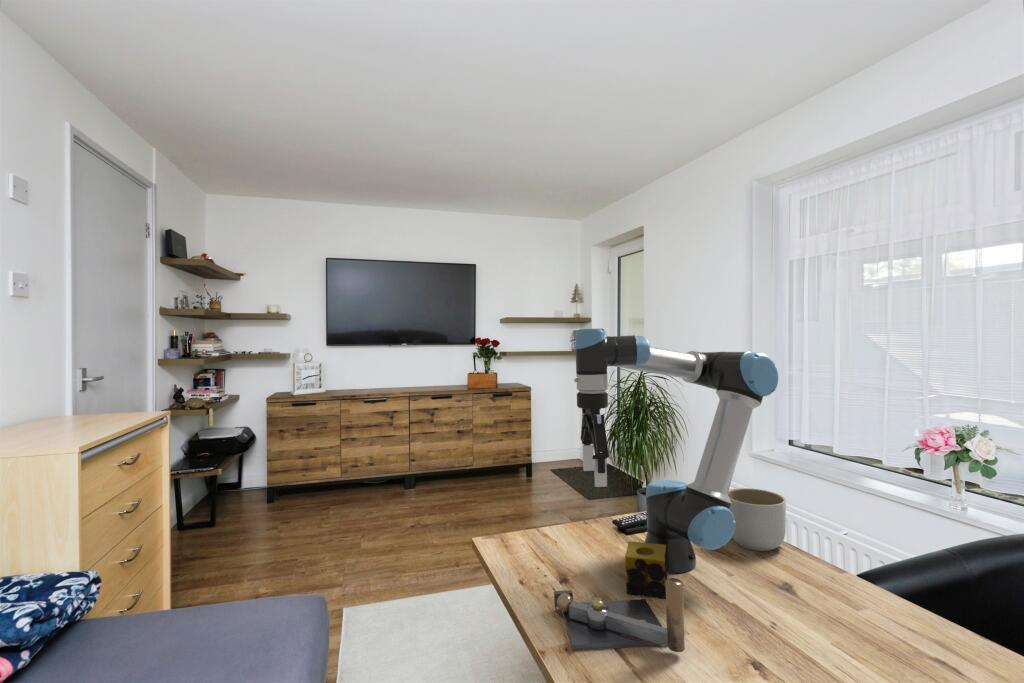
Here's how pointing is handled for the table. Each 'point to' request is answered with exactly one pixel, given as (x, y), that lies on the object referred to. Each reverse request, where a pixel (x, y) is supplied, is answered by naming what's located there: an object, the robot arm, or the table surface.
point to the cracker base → (605, 638)
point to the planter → (758, 518)
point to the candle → (646, 569)
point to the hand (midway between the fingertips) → (594, 478)
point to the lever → (637, 628)
